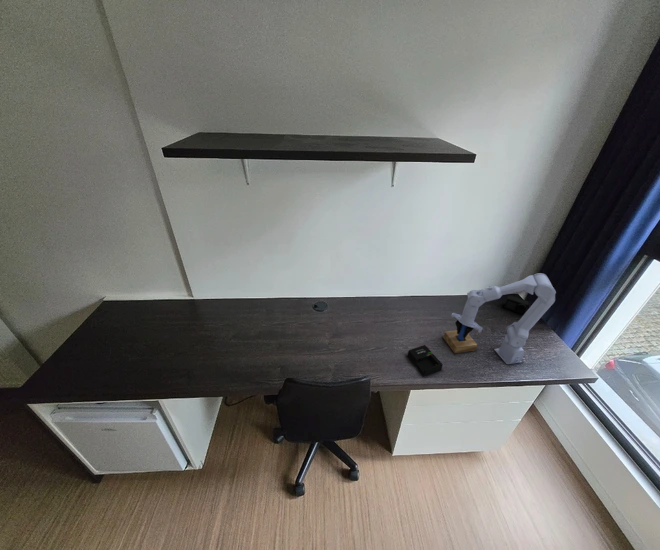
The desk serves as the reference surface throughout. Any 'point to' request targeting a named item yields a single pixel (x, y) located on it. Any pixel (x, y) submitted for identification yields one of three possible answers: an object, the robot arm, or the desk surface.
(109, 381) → the desk surface
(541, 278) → the robot arm
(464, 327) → the handle
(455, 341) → the holder
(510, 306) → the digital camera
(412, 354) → the battery charger
